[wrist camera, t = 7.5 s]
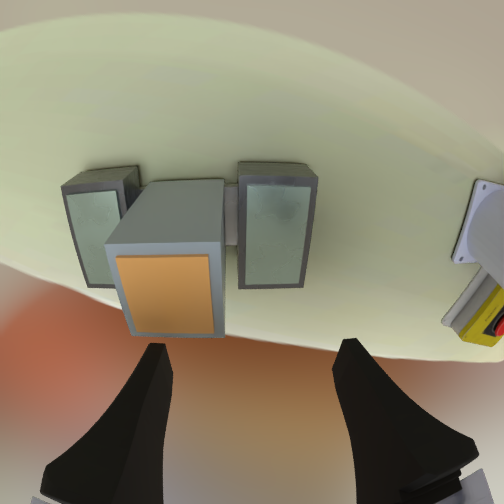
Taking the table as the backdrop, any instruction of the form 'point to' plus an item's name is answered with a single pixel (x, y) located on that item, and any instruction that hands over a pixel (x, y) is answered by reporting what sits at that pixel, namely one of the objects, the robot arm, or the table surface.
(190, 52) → the table surface
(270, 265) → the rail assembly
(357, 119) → the table surface
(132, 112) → the table surface
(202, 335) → the block
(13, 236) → the table surface
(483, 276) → the emergency button
